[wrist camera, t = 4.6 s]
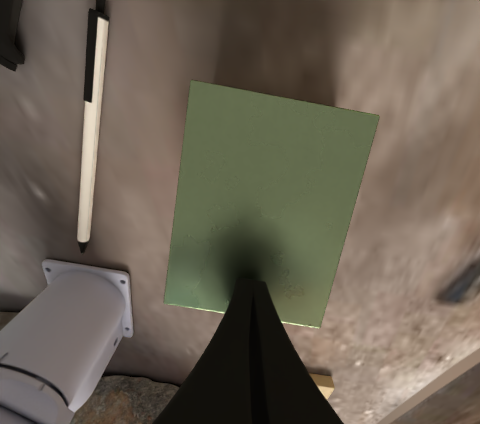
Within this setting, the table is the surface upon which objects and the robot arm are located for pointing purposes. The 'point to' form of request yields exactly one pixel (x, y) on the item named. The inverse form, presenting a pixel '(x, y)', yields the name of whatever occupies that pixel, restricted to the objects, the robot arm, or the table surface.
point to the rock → (125, 401)
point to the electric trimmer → (9, 33)
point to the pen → (91, 115)
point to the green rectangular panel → (264, 199)
